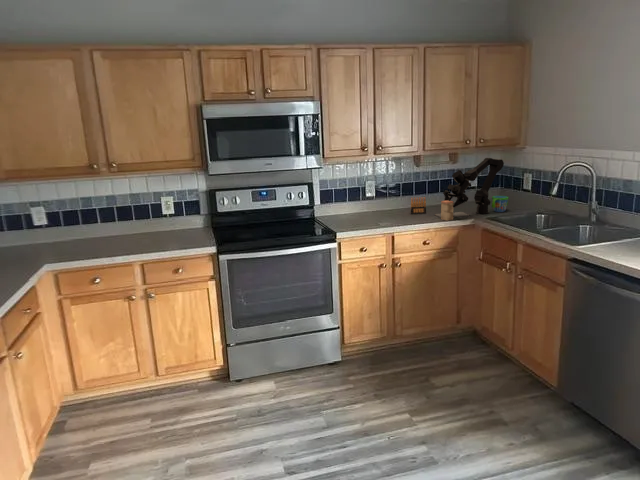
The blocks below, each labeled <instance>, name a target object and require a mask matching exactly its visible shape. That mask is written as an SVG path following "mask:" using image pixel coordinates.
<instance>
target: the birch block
mask: <svg viewBox="0 0 640 480" xmlns="http://www.w3.org/2000/svg"><path fill="white" fill-rule="evenodd" d="M454 203H455V202H454V201H452V200H450V201H449V200H446V201H444V200H441V201H440V214H441V218H440V220H443V221H446V222H447V221H452V220H453V221H454V217H453V213H454V207H453V205H454Z"/></svg>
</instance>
